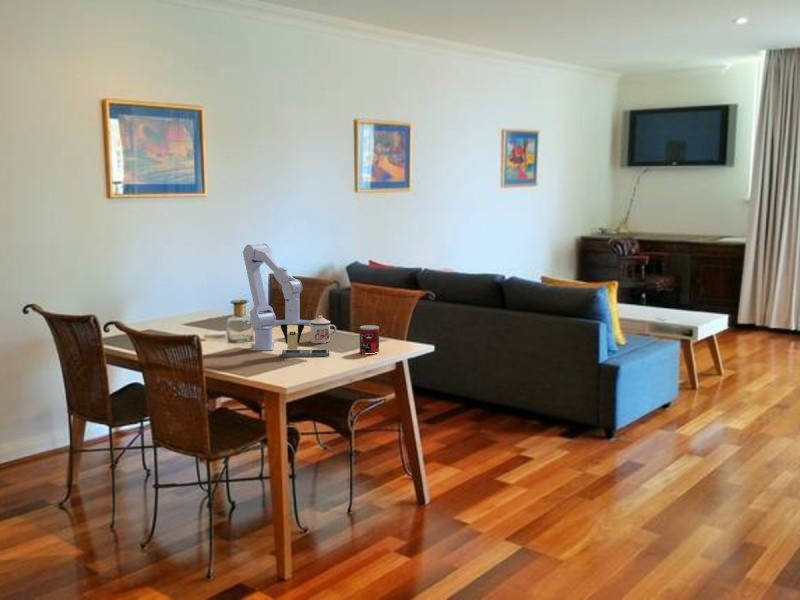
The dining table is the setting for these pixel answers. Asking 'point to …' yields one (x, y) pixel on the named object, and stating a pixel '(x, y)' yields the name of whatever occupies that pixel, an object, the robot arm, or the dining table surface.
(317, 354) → the plate with square holes
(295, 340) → the cube with round knob
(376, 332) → the canned food
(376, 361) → the dining table surface
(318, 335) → the teacup with lid
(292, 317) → the robot arm
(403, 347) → the dining table surface
